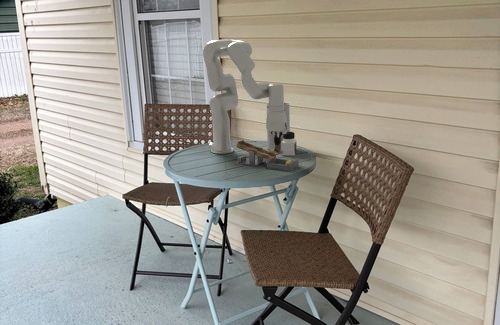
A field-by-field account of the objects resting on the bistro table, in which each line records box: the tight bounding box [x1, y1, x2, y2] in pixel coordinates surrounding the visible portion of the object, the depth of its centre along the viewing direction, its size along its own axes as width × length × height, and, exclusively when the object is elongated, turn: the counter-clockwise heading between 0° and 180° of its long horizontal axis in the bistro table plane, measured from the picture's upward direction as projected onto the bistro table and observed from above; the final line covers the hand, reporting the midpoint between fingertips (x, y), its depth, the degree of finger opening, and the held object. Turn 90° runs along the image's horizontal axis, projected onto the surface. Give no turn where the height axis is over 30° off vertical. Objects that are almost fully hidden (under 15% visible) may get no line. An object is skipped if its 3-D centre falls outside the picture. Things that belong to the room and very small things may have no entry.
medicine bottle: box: [281, 130, 297, 157], centre depth 271 cm, size 7×7×12 cm
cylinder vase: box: [266, 102, 291, 151], centre depth 282 cm, size 12×12×25 cm
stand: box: [235, 147, 266, 167], centre depth 257 cm, size 12×9×7 cm
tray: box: [266, 157, 300, 172], centre depth 248 cm, size 13×10×4 cm
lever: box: [235, 139, 283, 161], centre depth 258 cm, size 20×16×4 cm
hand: (277, 144), depth 259 cm, fingers closed
